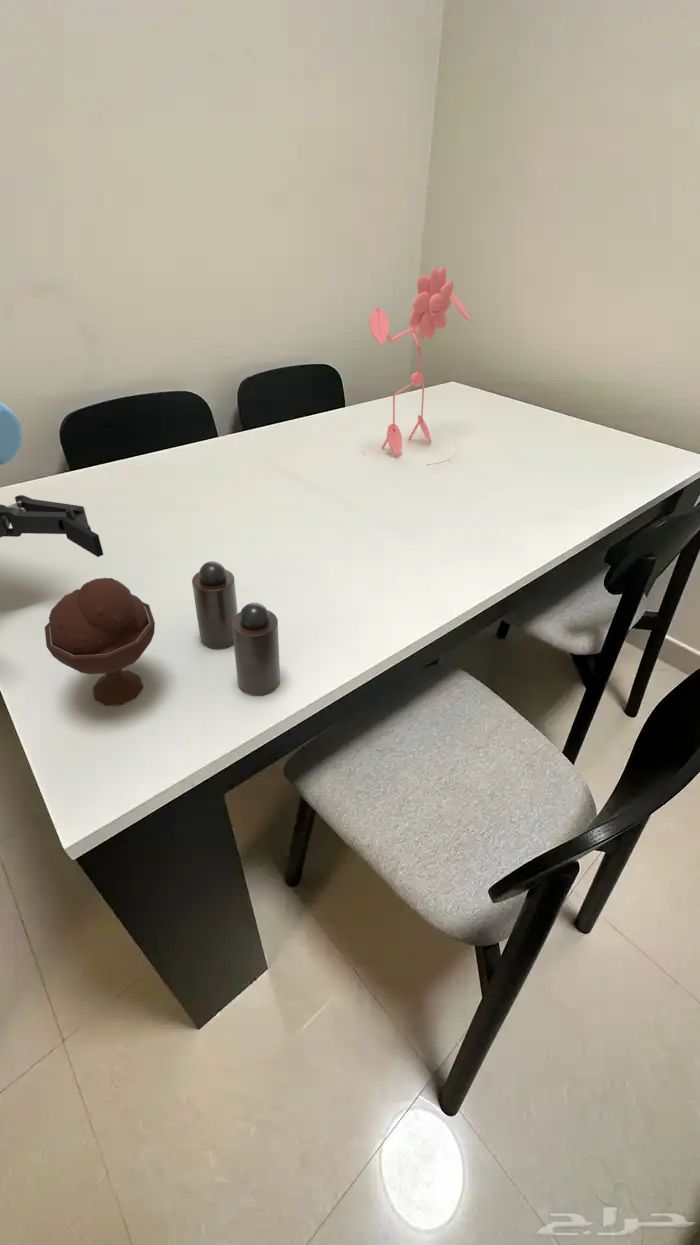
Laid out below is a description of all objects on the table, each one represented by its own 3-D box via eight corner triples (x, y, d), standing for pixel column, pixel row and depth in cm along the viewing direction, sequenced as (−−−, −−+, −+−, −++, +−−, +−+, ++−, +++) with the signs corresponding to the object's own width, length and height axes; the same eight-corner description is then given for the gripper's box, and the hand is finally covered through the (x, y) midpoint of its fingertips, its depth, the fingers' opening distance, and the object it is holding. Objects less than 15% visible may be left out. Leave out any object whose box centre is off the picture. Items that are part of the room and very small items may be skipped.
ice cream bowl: (156, 648, 73) (134, 544, 64) (174, 708, 65) (152, 599, 56) (64, 670, 69) (27, 563, 60) (73, 736, 61) (31, 625, 52)
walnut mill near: (250, 702, 66) (244, 625, 60) (230, 677, 69) (221, 601, 63) (288, 684, 69) (285, 609, 62) (266, 661, 72) (262, 587, 65)
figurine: (352, 456, 125) (361, 266, 103) (428, 430, 139) (450, 259, 118) (405, 479, 116) (428, 278, 95) (481, 449, 131) (515, 269, 109)
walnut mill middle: (211, 654, 73) (201, 579, 66) (193, 633, 76) (182, 560, 69) (246, 640, 75) (240, 566, 68) (228, 620, 78) (220, 548, 71)
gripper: (52, 502, 84) (144, 554, 74) (-146, 573, 68) (-64, 651, 59) (37, 452, 80) (133, 501, 70) (-180, 516, 64) (-96, 591, 54)
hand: (43, 570), depth 64 cm, fingers open, 13 cm apart
